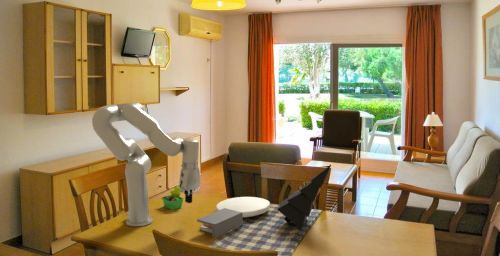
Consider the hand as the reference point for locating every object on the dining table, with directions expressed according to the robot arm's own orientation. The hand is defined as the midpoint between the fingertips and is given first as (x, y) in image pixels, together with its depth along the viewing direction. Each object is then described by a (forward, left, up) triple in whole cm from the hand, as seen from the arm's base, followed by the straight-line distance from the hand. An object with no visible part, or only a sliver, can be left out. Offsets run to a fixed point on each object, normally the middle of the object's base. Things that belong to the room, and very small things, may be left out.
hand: (188, 202), depth 205 cm
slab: (+16, +2, -10) cm, 19 cm away
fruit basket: (-24, +12, -10) cm, 29 cm away
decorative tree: (+47, +30, -10) cm, 57 cm away
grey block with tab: (+18, +2, -10) cm, 20 cm away
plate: (+12, +27, -10) cm, 31 cm away
